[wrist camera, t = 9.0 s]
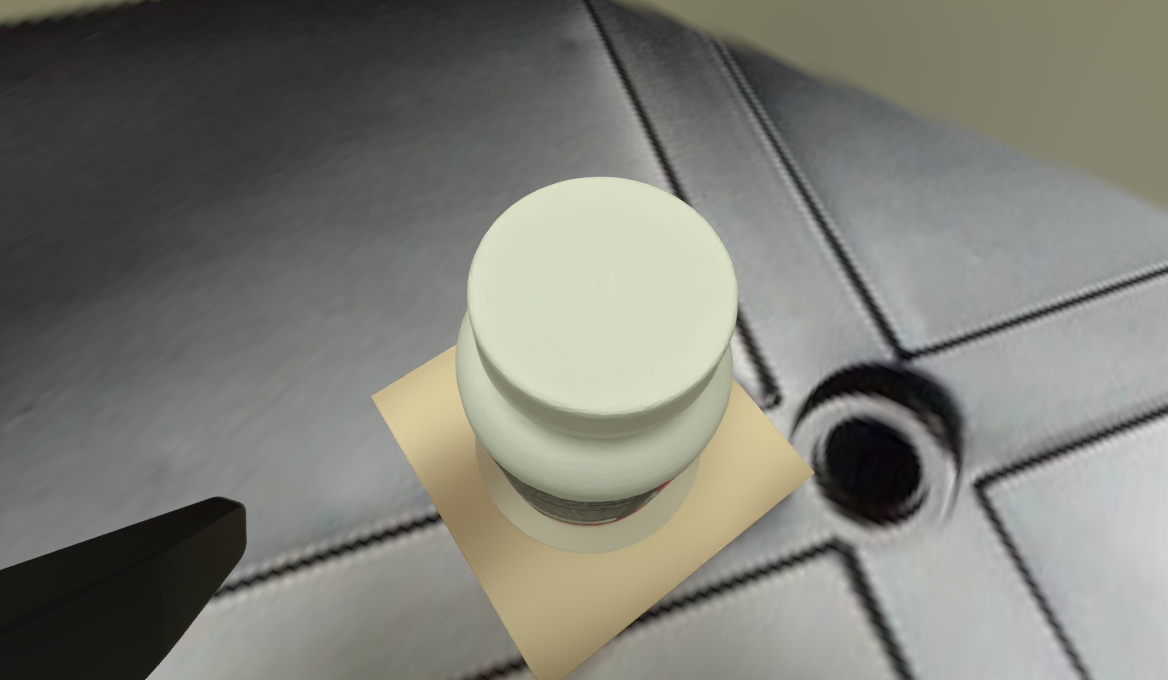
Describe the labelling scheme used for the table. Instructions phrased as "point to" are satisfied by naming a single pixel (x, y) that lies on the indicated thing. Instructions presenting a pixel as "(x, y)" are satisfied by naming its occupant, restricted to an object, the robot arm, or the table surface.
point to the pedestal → (573, 553)
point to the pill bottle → (597, 345)
